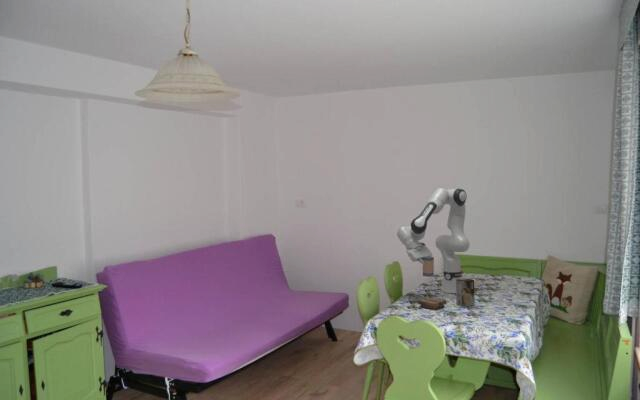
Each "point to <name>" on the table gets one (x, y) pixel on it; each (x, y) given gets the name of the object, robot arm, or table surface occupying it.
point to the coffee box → (465, 292)
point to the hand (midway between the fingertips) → (427, 264)
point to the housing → (428, 266)
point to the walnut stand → (432, 303)
